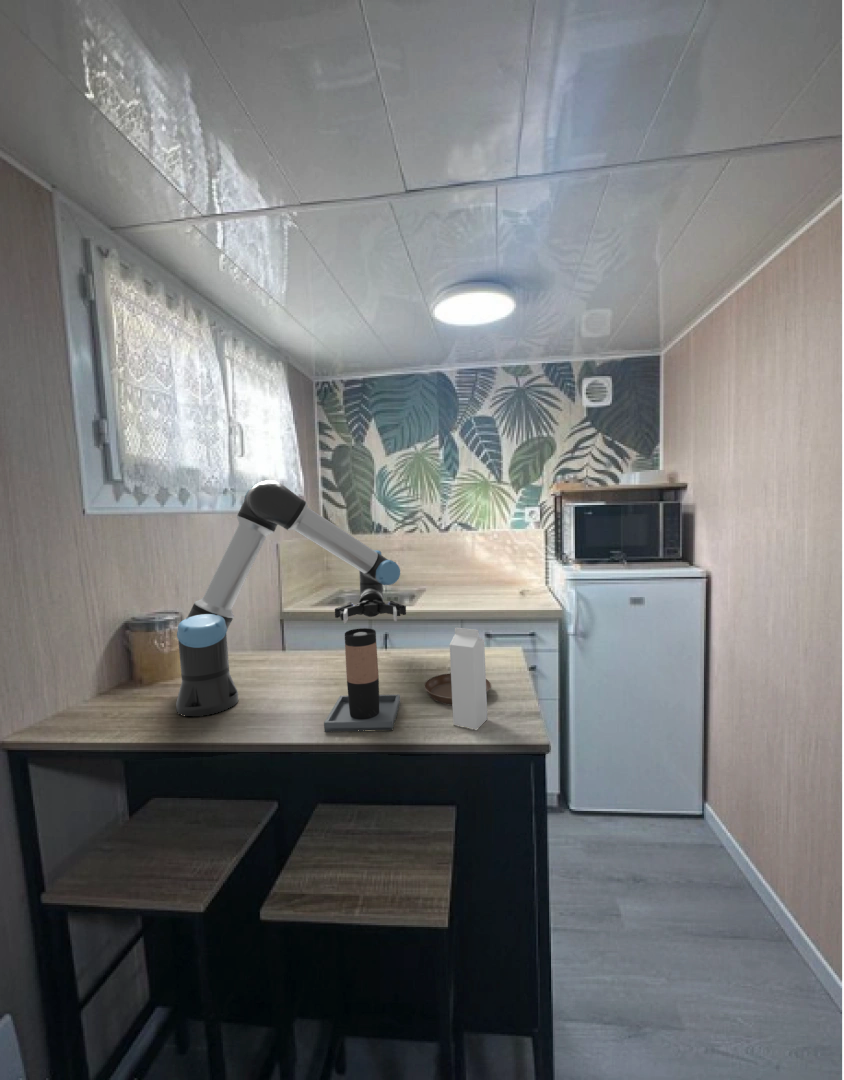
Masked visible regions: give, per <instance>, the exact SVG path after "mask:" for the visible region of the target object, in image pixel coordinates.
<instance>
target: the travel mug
mask: <svg viewBox="0 0 844 1080" xmlns="http://www.w3.org/2000/svg"><path fill="white" fill-rule="evenodd" d="M344 650H345V651H344V652H345V666H346V667H345V671H346V673H345V674H346V687H347V696H348V699H349V710H350V716H351V717H352V718H355V719H369V718H373V717H375V716H377V715H378V714H379V695H380V685H379V684H380V681H379V680H380V679H379V661H378V648H377V631H376V630H375V629H373V628H369V627H368V628H367V627H366V628H365V627H364V628H353V629H348V630H347V631H346V632H344Z"/></svg>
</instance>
